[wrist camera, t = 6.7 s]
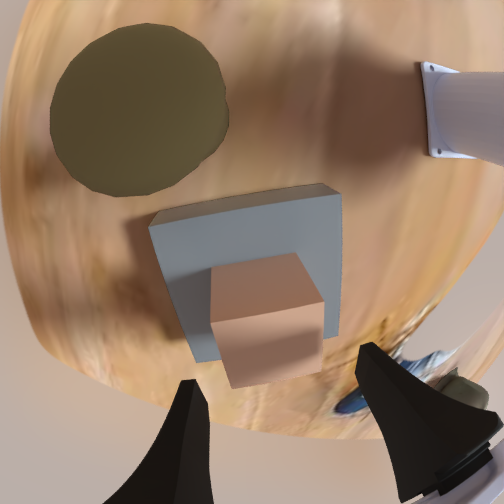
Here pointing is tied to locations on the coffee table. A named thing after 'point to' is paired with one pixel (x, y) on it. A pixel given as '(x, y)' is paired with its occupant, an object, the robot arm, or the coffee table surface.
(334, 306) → the plate
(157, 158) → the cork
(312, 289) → the tan cube
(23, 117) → the coffee table surface
